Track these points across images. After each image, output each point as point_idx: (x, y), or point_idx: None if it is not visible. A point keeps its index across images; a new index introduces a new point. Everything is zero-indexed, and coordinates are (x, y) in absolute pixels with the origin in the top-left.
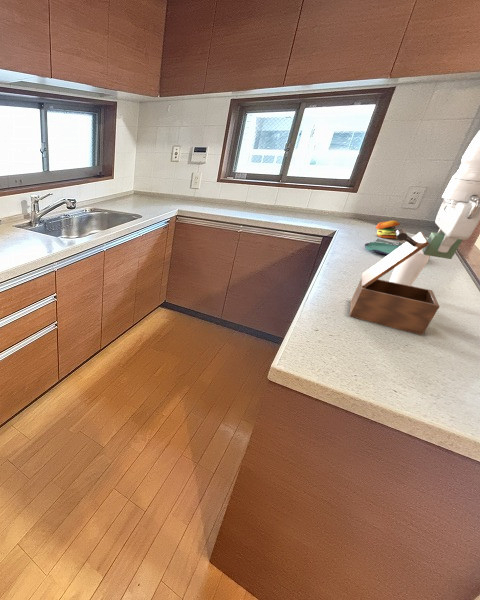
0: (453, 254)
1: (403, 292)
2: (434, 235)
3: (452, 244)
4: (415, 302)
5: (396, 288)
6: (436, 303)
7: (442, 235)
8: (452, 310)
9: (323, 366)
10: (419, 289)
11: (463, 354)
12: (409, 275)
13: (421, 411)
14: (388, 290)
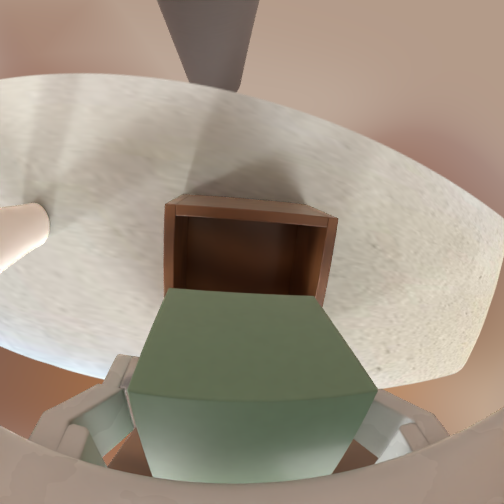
0: (325, 314)
1: (177, 267)
2: None
3: (396, 397)
4: (327, 272)
5: None
6: (317, 221)
7: (255, 478)
8: (73, 109)
9: (457, 341)
10: (174, 239)
11: (355, 147)
12: (15, 233)
13: (496, 257)
14: None
